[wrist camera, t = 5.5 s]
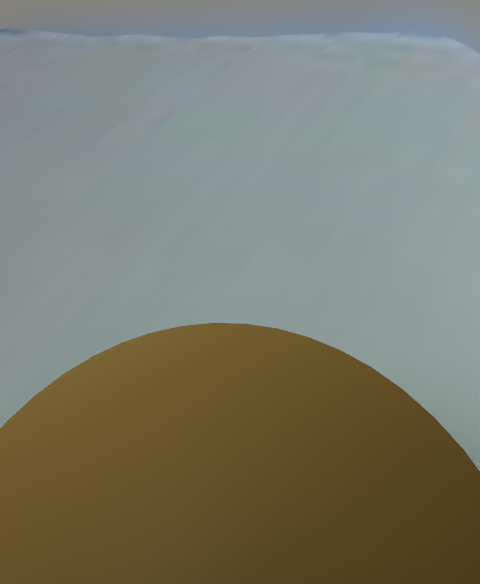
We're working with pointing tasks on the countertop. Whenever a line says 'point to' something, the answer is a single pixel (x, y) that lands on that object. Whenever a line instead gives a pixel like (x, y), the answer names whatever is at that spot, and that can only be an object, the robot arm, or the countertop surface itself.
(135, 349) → the peg
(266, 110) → the countertop surface
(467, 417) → the countertop surface
